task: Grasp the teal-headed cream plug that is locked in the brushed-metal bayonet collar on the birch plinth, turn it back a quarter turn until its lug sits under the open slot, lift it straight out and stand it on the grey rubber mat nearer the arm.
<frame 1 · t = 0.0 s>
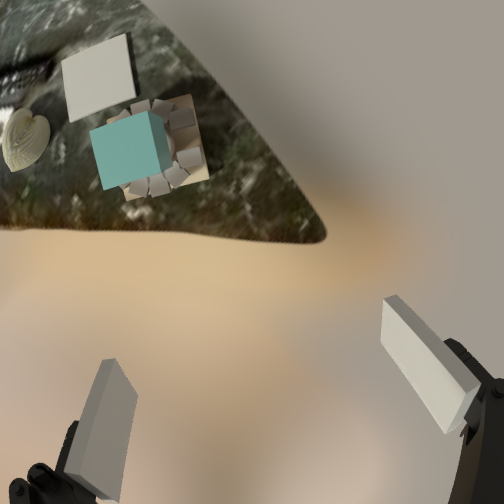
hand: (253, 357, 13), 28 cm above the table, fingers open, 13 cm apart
mat: (97, 77, 30), on the table
socket: (159, 147, 35), on the table
plug: (155, 147, 33), point 2 cm above the table, touching socket
seashell: (30, 137, 31), on the table
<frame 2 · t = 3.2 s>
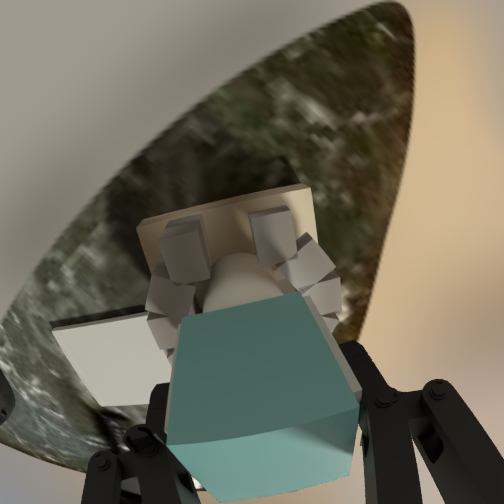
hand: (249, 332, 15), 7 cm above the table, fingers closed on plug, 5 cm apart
mat: (120, 365, 23), on the table
socket: (238, 273, 21), on the table
plug: (240, 286, 19), point 2 cm above the table, touching gripper, socket
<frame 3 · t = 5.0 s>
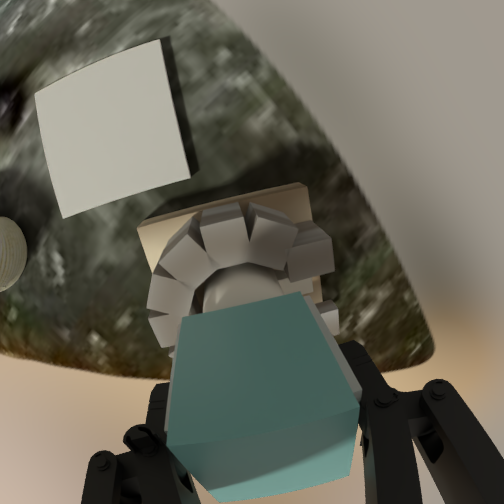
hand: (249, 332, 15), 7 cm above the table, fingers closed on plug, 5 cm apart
mat: (105, 128, 17), on the table
socket: (238, 272, 22), on the table
plug: (240, 286, 19), point 2 cm above the table, touching gripper
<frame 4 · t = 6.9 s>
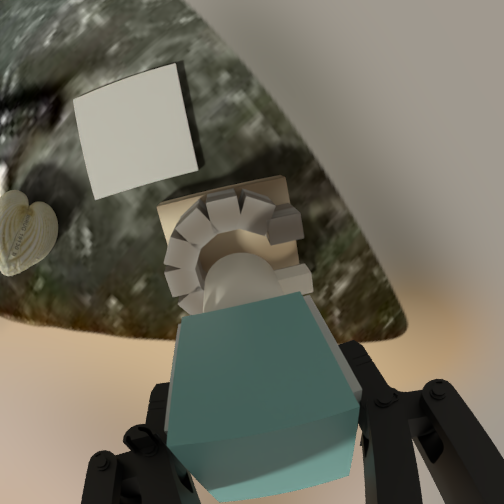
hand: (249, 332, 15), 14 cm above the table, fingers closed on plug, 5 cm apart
mat: (132, 131, 23), on the table
socket: (233, 244, 28), on the table
plug: (240, 286, 19), point 9 cm above the table, touching gripper
seashell: (29, 224, 24), on the table
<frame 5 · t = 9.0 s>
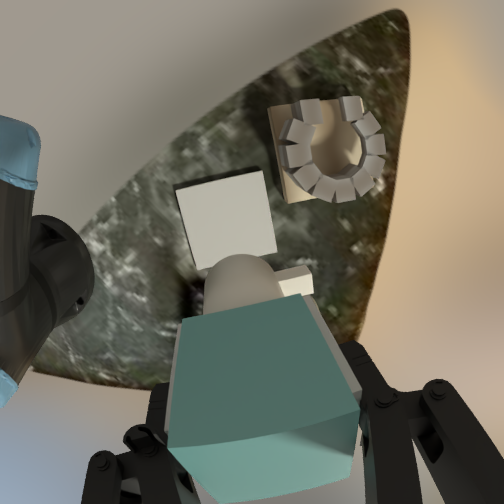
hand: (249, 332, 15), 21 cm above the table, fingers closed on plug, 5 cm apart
mat: (227, 220, 35), on the table
socket: (320, 147, 33), on the table
plug: (241, 287, 19), point 16 cm above the table, touching gripper
when the fingers open (6 cm above the table, at t = 10.8 s): plug stays where it is, resting on mat.
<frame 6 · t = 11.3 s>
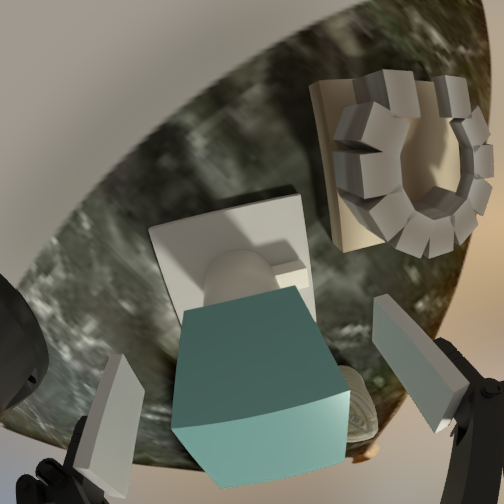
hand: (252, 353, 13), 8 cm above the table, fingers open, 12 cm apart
mat: (239, 277, 21), on the table
socket: (391, 156, 19), on the table
plug: (239, 282, 20), point 1 cm above the table, touching mat
seashell: (326, 392, 27), on the table
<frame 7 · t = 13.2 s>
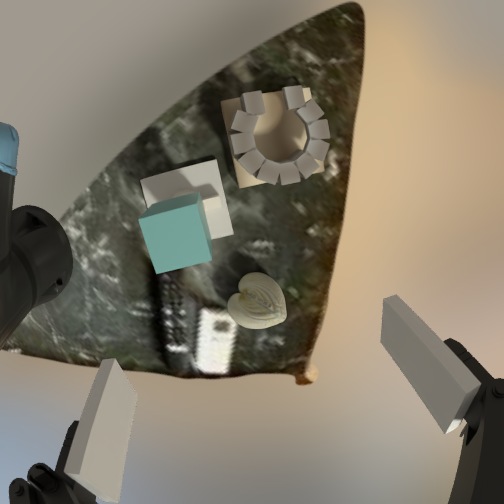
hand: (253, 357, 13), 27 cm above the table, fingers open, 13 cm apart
mat: (187, 206, 37), on the table
socket: (272, 135, 35), on the table
plug: (186, 207, 37), point 1 cm above the table, touching mat
seashell: (255, 297, 44), on the table
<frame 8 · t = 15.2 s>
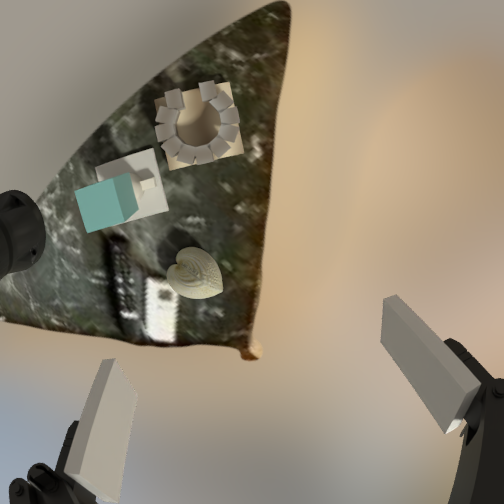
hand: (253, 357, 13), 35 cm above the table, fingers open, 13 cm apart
mat: (131, 187, 42), on the table
socket: (199, 125, 40), on the table
plug: (130, 188, 42), point 1 cm above the table, touching mat
seashell: (194, 270, 49), on the table
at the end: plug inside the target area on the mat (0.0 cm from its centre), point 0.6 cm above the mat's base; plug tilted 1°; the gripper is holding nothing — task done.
